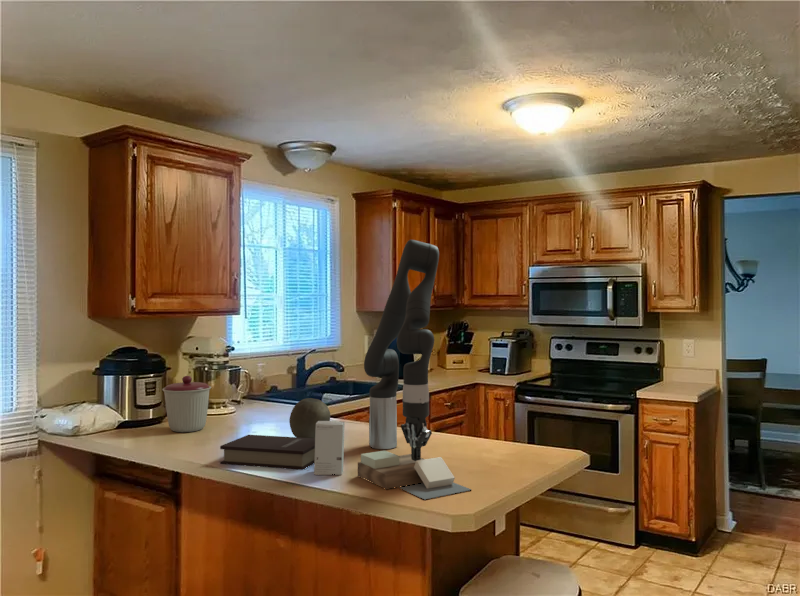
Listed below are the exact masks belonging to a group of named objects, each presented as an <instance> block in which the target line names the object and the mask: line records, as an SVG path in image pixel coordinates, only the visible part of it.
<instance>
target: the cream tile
mask: <svg viewBox="0 0 800 596" xmlns="http://www.w3.org/2000/svg"><path fill="white" fill-rule="evenodd" d="M414 468H415V470H416V471H417V473H418V475H419V476H420V478H421V480H422V481H423V483H424V485H425V486H426V488H427V489H428V488H434V487H440V486H446V485H452V484H453V482H454V481H455V476H454V474H453V473H452V471H451V469H449V466H448V465H447V463H446V462H445V460H444V459H443V458H442V456H438V457H431V458H423V460H416V463H415V466H414Z"/></svg>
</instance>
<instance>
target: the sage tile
mask: <svg viewBox="0 0 800 596" xmlns="http://www.w3.org/2000/svg"><path fill="white" fill-rule="evenodd" d="M399 456H400V455H398V454H395V453H392V452H390V451H388V450H386V449H383V450H380V451H379V450H378V451H372V452H366V453H360V462H361V463H362V464H365V465H367V466H369V467H372V468H374V469H377V468H383V467H389V466H395V465H399Z"/></svg>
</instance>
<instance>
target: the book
mask: <svg viewBox="0 0 800 596" xmlns="http://www.w3.org/2000/svg"><path fill="white" fill-rule="evenodd" d="M219 447H220V448H219V449H220V450H223V460H222V461H219V462H220V464H221V465H231V466H244V465H246V466H244V467H257V466H260V468H271V469H272V468H273V469H274V468H275V469H284V468H286V469H287V470H298V469H304V470H306V469H307V468H309V467H310V465H311V466H312V465H314V464H313V463H314V460H315V438H298V437H295V436H294V437H293V436H282V435H281V436H277V435H261V434H260V435H259V434H258V435H257V434H246V435H244V436H242V437H239V438H236V439H234V440H232V441H229V442H226V443H224V444H222V445H220V446H219ZM308 466H309V467H308ZM306 467H307V468H306ZM305 468H306V469H305ZM286 469H285V470H286Z"/></svg>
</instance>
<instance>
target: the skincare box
mask: <svg viewBox="0 0 800 596" xmlns="http://www.w3.org/2000/svg"><path fill="white" fill-rule="evenodd" d="M344 448H345V421H340V420H339V421H337V420H335V421H334V420H330V421H318V422H317V423H316V429H315V460H314V464H313V466H314V467H313V473H314V476H341V475H343V472H344V453H345V449H344ZM332 474H333V475H332ZM334 474H335V475H334Z"/></svg>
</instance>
